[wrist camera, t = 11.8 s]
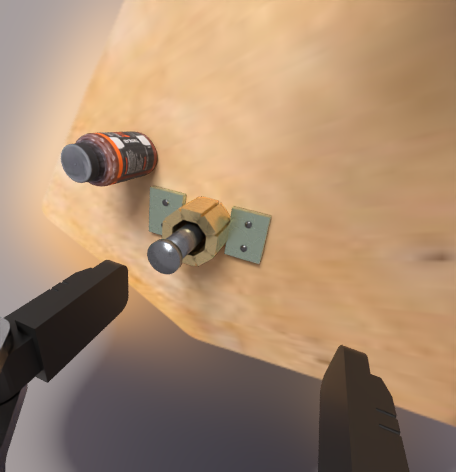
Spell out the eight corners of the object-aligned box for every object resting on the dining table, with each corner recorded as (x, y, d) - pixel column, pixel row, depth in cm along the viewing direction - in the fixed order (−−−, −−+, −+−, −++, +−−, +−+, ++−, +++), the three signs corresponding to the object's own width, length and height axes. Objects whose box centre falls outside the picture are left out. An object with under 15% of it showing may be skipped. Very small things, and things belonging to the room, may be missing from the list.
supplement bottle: (149, 125, 36) (83, 125, 26) (164, 169, 38) (108, 184, 28) (116, 138, 38) (43, 143, 28) (132, 179, 40) (69, 197, 30)
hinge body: (154, 184, 39) (127, 193, 34) (271, 214, 35) (263, 229, 30) (152, 230, 42) (128, 245, 37) (260, 262, 38) (250, 284, 33)
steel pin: (195, 207, 38) (147, 237, 28) (219, 213, 37) (180, 247, 27) (192, 231, 40) (146, 268, 29) (216, 237, 39) (177, 278, 29)
